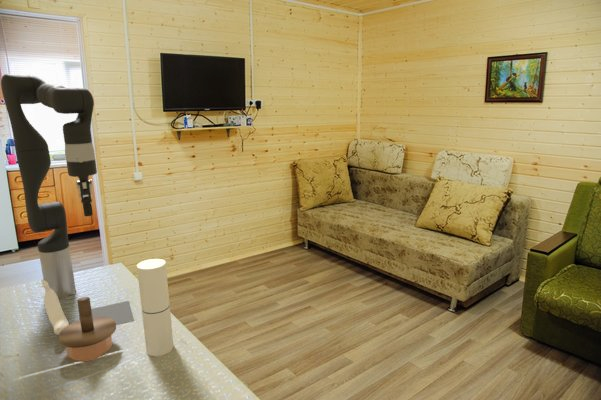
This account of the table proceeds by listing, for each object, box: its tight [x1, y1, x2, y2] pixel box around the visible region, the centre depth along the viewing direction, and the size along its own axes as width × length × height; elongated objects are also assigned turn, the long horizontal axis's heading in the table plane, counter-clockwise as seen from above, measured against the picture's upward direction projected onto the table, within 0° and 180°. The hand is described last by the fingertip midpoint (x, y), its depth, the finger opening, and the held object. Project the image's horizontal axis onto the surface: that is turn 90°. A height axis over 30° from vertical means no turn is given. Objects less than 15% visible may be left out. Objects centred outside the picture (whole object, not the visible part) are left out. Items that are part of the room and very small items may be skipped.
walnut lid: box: [58, 296, 117, 348], centre depth 113 cm, size 14×14×10 cm
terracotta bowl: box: [65, 335, 113, 363], centre depth 115 cm, size 11×11×5 cm
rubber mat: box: [78, 300, 135, 326], centre depth 132 cm, size 15×15×1 cm
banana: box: [40, 279, 70, 336], centre depth 123 cm, size 5×19×15 cm, turn 41°
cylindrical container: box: [136, 258, 175, 357], centre depth 112 cm, size 7×7×25 cm
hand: (88, 212), depth 125 cm, fingers open, 8 cm apart
